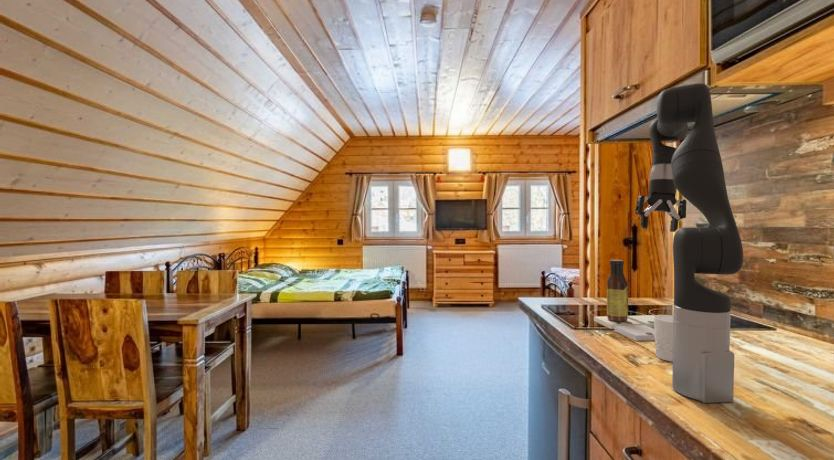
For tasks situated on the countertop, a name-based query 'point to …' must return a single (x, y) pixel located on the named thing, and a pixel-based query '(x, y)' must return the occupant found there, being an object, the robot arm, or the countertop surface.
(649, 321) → the tile three
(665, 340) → the white cup
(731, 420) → the countertop surface
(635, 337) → the tile one
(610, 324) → the tile two
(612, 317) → the sauce bottle
